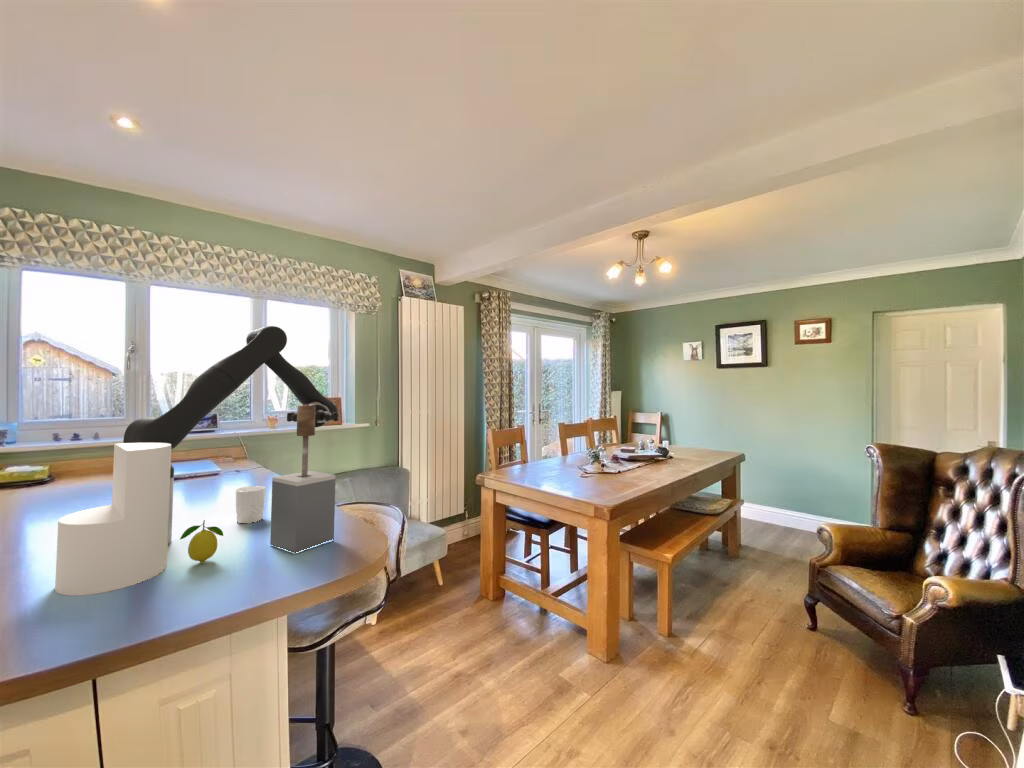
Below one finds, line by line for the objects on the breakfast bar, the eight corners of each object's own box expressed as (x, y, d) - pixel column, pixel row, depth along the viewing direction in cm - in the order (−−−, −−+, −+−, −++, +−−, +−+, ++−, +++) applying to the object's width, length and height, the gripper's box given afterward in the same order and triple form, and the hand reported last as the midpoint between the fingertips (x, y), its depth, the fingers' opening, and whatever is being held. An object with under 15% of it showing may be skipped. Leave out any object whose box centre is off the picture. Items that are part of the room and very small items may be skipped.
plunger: (298, 511, 104) (301, 406, 105) (281, 507, 108) (284, 405, 109) (325, 504, 111) (328, 405, 111) (308, 500, 114) (310, 405, 115)
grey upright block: (295, 554, 101) (297, 482, 102) (270, 545, 107) (272, 477, 107) (333, 541, 111) (335, 475, 111) (309, 533, 116) (310, 470, 117)
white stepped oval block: (157, 554, 100) (162, 440, 101) (175, 574, 90) (180, 447, 90) (52, 577, 87) (58, 446, 88) (57, 604, 76) (64, 455, 77)
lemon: (178, 569, 92) (180, 525, 92) (191, 559, 98) (192, 517, 98) (212, 566, 94) (214, 523, 94) (223, 556, 99) (224, 515, 100)
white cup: (253, 524, 123) (254, 491, 124) (228, 524, 124) (229, 491, 124) (269, 517, 131) (270, 486, 132) (245, 516, 131) (246, 485, 132)
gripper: (293, 403, 133) (284, 405, 118) (340, 404, 138) (337, 405, 123) (292, 426, 133) (283, 431, 118) (339, 426, 138) (336, 430, 122)
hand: (311, 418), depth 120 cm, fingers open, 8 cm apart
